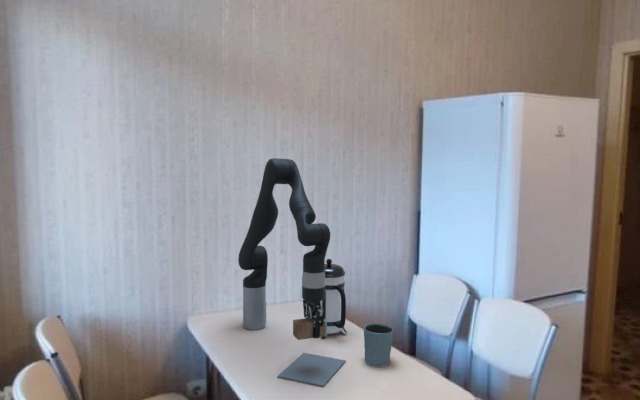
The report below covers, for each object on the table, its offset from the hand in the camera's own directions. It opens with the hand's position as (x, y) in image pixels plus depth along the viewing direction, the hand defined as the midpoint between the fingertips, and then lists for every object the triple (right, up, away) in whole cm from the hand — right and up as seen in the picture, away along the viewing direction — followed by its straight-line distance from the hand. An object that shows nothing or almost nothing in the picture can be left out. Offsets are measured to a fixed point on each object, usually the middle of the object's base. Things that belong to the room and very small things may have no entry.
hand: (313, 334), depth 164 cm
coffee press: (+6, -9, +34) cm, 35 cm away
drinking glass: (+22, -12, +8) cm, 26 cm away
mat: (0, -12, +1) cm, 12 cm away
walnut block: (-6, +2, -3) cm, 7 cm away
